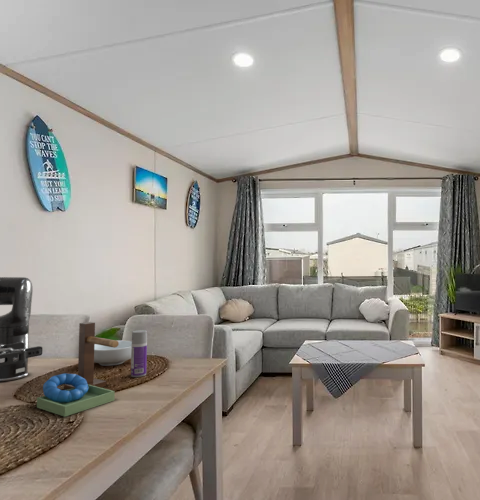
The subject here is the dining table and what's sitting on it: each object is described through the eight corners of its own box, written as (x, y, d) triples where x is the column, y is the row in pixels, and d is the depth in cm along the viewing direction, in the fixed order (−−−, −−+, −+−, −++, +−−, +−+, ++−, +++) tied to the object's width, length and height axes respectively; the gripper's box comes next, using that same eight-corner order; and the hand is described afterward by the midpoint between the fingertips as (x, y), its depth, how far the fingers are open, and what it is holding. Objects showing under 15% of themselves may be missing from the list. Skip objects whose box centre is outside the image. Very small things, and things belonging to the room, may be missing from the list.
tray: (36, 407, 105) (36, 397, 105) (86, 392, 117) (87, 384, 117) (64, 416, 100) (64, 406, 100) (114, 400, 111) (114, 391, 111)
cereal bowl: (107, 371, 138) (108, 351, 138) (74, 366, 144) (75, 347, 144) (147, 359, 154) (148, 341, 154) (116, 355, 160) (117, 338, 160)
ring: (52, 409, 104) (33, 386, 108) (94, 396, 114) (75, 376, 118) (55, 400, 103) (36, 377, 108) (97, 388, 113) (78, 367, 117)
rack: (64, 389, 120) (65, 323, 120) (91, 382, 127) (92, 320, 127) (100, 399, 112) (102, 329, 112) (127, 391, 119) (128, 325, 119)
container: (149, 373, 137) (150, 330, 137) (140, 377, 132) (141, 332, 132) (136, 372, 137) (137, 329, 138) (127, 376, 133) (128, 332, 133)
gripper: (-40, 350, 81) (48, 336, 96) (-70, 342, 87) (17, 330, 102) (-41, 387, 81) (47, 367, 96) (-71, 376, 87) (17, 359, 102)
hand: (32, 348), depth 99 cm, fingers open, 8 cm apart
